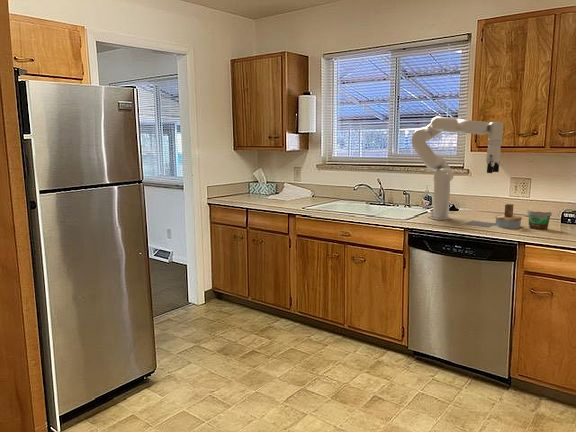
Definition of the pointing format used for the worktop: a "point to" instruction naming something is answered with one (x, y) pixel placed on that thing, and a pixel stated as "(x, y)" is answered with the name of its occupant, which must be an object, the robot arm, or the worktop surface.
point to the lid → (508, 214)
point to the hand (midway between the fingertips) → (492, 172)
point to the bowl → (508, 223)
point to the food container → (539, 220)
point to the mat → (480, 223)
